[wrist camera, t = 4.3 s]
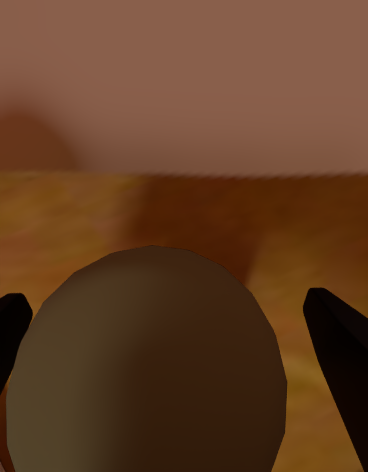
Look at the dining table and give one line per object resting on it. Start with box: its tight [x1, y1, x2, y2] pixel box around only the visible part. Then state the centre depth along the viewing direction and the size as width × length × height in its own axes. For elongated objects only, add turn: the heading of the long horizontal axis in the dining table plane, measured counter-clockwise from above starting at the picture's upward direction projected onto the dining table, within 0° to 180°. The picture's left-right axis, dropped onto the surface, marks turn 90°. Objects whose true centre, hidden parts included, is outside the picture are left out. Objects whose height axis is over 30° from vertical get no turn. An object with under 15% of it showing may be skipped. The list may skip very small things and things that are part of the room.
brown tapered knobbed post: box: [6, 245, 287, 472], centre depth 9 cm, size 6×6×11 cm
